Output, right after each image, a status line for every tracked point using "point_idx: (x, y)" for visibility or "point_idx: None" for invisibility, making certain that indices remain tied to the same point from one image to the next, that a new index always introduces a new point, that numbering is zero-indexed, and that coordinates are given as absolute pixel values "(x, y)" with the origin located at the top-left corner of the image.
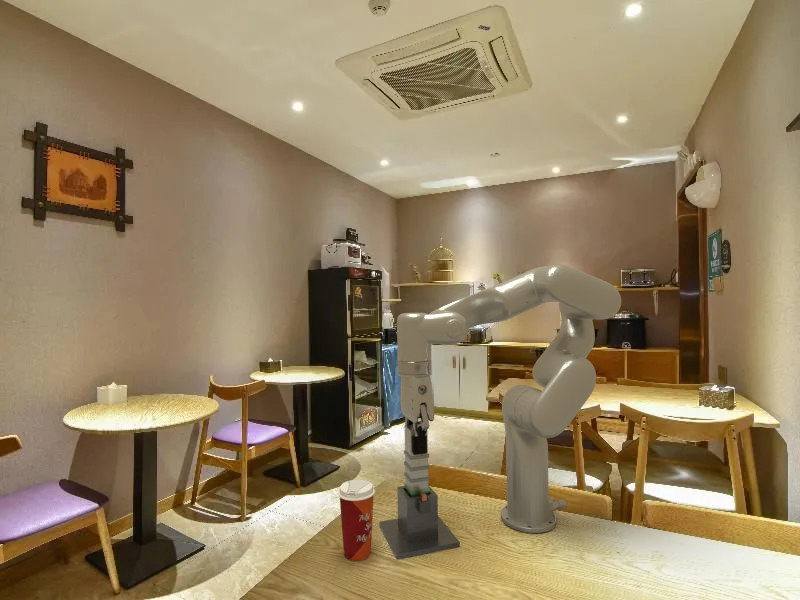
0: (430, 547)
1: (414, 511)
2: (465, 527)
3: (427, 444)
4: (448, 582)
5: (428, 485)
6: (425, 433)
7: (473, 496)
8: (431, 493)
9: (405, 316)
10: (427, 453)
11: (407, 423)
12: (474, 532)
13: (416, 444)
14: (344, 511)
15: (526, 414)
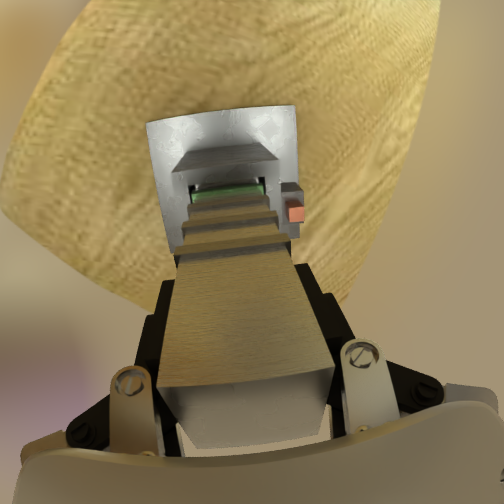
0: (296, 171)
1: None
2: (216, 65)
3: (298, 279)
4: (379, 169)
5: (195, 169)
6: (396, 366)
7: (80, 22)
8: (260, 175)
9: None
10: (287, 251)
11: (182, 448)
12: (244, 54)
13: None
14: None
15: None
